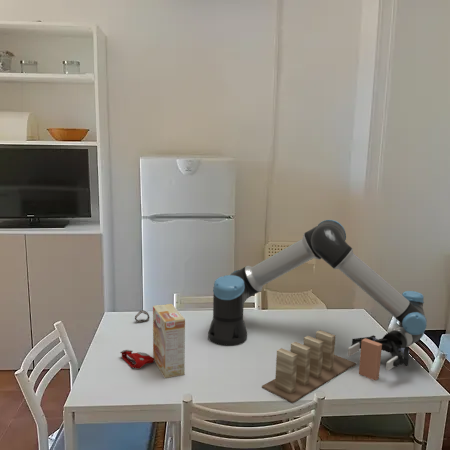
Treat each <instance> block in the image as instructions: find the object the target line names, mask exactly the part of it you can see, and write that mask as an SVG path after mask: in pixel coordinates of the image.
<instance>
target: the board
mask: <svg viewBox="0 0 450 450" xmlns="http://www.w3.org/2000/svg"><path fill="white" fill-rule="evenodd" d="M356 365H357V362H355V361H352V360H350V359H347V358H345V357H343V356H339V355H336V354H334V363H333V369H332V370H331V371H327V370H325V369H322V373H321V376H320V377H319V378H315V377H313V376H310V375H309V383H308V384H307V385H305V386H303V385H301V384H299V383H297V382H296V388H295V392H293V393H291V394H289V393H287V392H285V391H283V390H281V389H279V388H277V387H275V378H274V379H272V380H269V381H268V382H267V383H265V384H263V385H261V388H262V389H264V390H266V391H268V392H269V393H272V394H273V395H276V396H277V397H279V398H282V399H283V400H285V401H287V402H289V403H291V404H294V403H296V402H298V401H299V400H301V399H302V398H304V397H306V396H307V395H309V394H310V393H312V392H314V391H316V390H317V389H319V388H320V387H322V386H324V385H325V384H327V383H329V382H330V381H331V380H332V381H333V379H335V378H337V377H338V376H340V375H341V374H344V372H347V370H349V369H352V368H353V367H354V366H356Z"/></svg>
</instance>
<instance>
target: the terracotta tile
mask: <svg viewBox="0 0 450 450" xmlns="http://www.w3.org/2000/svg"><path fill="white" fill-rule="evenodd" d="M382 351H383V350H382V344H381V343H378V342H375V341H372V340H369V339H366V338H365V339H363V340H362V341H361V349H360V355H359V364H358V365H359V366H358V375H360V376H363V377H366V378H368V379H370V380H373V381H377V380H378V379H379V378H380V372H381V371H380V370H381V360H382Z"/></svg>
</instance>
